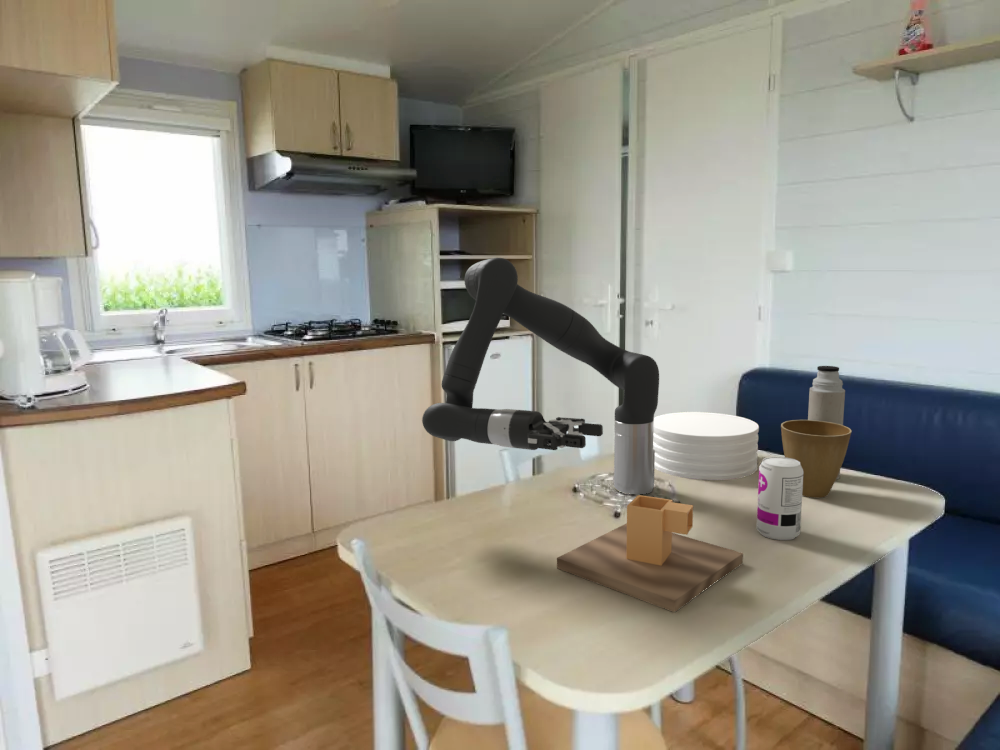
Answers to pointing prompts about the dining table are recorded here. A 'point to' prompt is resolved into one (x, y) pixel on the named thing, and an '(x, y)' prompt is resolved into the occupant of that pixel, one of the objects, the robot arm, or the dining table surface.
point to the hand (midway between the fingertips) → (593, 436)
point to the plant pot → (816, 452)
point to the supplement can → (779, 498)
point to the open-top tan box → (655, 527)
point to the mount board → (651, 568)
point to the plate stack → (705, 445)
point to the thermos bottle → (827, 397)
